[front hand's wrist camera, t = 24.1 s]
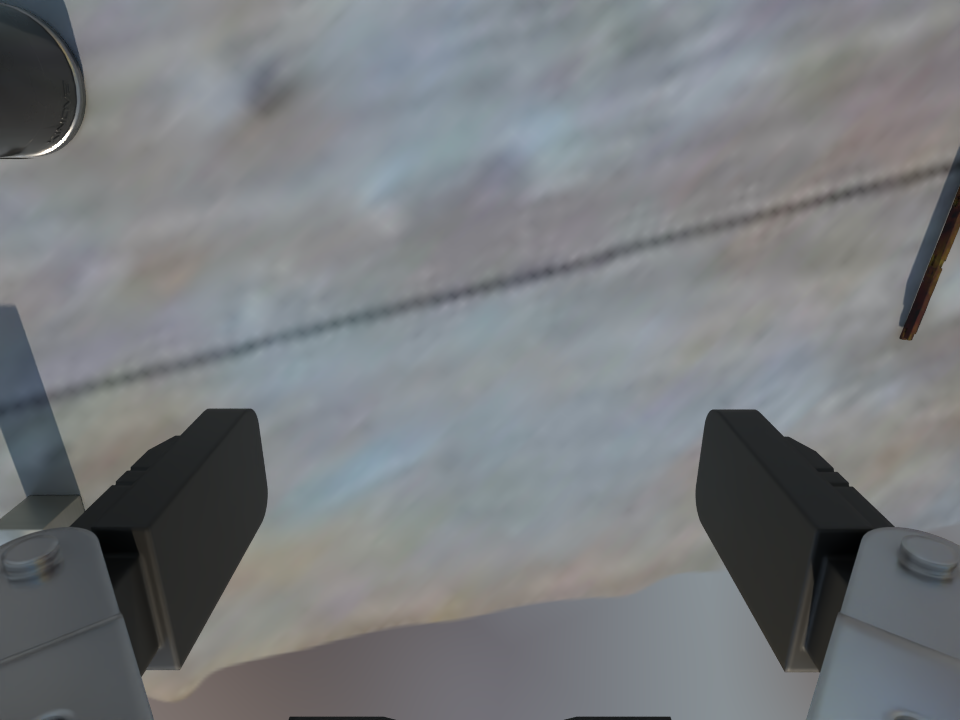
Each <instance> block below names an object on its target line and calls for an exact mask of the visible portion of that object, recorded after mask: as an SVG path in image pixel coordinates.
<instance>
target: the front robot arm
mask: <svg viewBox="0 0 960 720" xmlns="http://www.w3.org/2000/svg"><path fill="white" fill-rule="evenodd" d="M85 106H86V93H85V85H84V80H83V76H82V73H81V70H80V67H79V65H78V63H77V61H76V58H75V57H74V55H73V53H72V51H71V50H70V48H69V47H68V45H67V44H66V42H65V41H64V40H63V39H62V37H61V36H60V35H59V34H58V33H57V32H56V31H55V30H54V29H53V28H52V27H51V26H50V25H48V24H47V23H46V22H45V21H43V20H42V19H41V18H39V17H38V16H36V15H34V14H32V13H31V12H28V11H26V10H24V9H22V8H19V7H16V6H12V5H8V4H4V3H0V157H8V156H16V157H35V156H43V155H48V154H51V153H53V152H56V151H58V150H59V149H61V148H63V147H64V146H65V145H67V144H68V143H69V142H70V141H71V140H72V139H73V137H74V136H75V135H76V133H77V132H78V130H79V128H80V126H81V123H82V120H83V117H84V113H85ZM0 159H30V158H0ZM267 498H268V489H267V480H266V473H265V466H264V458H263V451H262V444H261V437H260V429H259V423H258V418H257V415H256V413H255V412H254V410H252V409H207V410H205V411H204V412H203V413H202V414H201V415H200V416H199V417H198V418H197V419H196V420H195V421H194V422H193V423H192V424H191V425H190V426H189V427H188V428H187V429H186V430H185V431H184V432H183V433H182V434H181V435H180V436H174V437H172V438H170V439H168V440H166V441H165V442H163V443H161V444H159V445H157V446H155V447H153V448H152V449H150V450H148V451H147V452H146V453H145V454H144V455H143V456H142V457H141V458H140V459H139V460H138V461H137V462H136V463H135V464H134V465H133V466H132V467H131V470H130V471H126V472H125V473H124V474H123V475H122V476H121V477H120V478H119V479H118V480H117V481H116V485H112V486H111V487H110V488H109V489H108V490H107V491H106V492H105V493H104V494H103V495H101V496H100V497H99V498H98V499H97V500H96V501H95V502H94V503H93V504H92V505H91V506H90V507H89V508H88V509H87V510H86V511H85V512H84V513H83V514H82V515H81V516H80V517H79V518H78V519H77V520H76V521H75V522H74V523H72V524H71V525H70V526H69V527H60V528H51V529H46V530H41V531H37V532H34V533H30V534H27V535H24V536H21V537H18V538H16V539H14V540H11V541H9V542H7V543H5V544H3V545H1V546H0V720H154V718H153V715H152V712H151V708H150V705H149V702H148V698H147V695H146V692H145V688H144V685H143V682H142V678H141V677H142V675H143V674H144V672H145V670H180V669H181V667H182V665H183V664H184V662H185V660H186V658H187V656H188V655H189V653H190V651H191V649H192V647H193V646H194V644H195V642H196V640H197V638H198V637H199V635H200V633H201V631H202V629H203V628H204V626H205V624H206V622H207V620H208V619H209V617H210V615H211V613H212V611H213V610H214V608H215V606H216V604H217V602H218V601H219V599H220V597H221V595H222V593H223V592H224V590H225V588H226V586H227V584H228V583H229V581H230V579H231V577H232V575H233V574H234V572H235V570H236V568H237V566H238V565H239V563H240V561H241V559H242V557H243V556H244V554H245V552H246V550H247V548H248V547H249V545H250V543H251V541H252V539H253V538H254V536H255V534H256V532H257V530H258V529H259V527H260V525H261V523H262V521H263V519H264V516H265V512H266V507H267ZM696 506H697V512H698V516H699V519H700V522H701V524H702V526H703V527H704V529H705V531H706V533H707V534H708V536H709V538H710V540H711V542H712V543H713V545H714V547H715V549H716V550H717V552H718V554H719V556H720V558H721V559H722V561H723V563H724V565H725V566H726V568H727V570H728V572H729V574H730V575H731V577H732V579H733V581H734V582H735V584H736V586H737V588H738V589H739V591H740V593H741V595H742V597H743V598H744V600H745V602H746V604H747V605H748V607H749V609H750V611H751V613H752V614H753V616H754V618H755V620H756V621H757V623H758V625H759V627H760V629H761V630H762V632H763V634H764V636H765V638H766V639H767V641H768V643H769V645H770V646H771V648H772V650H773V652H774V653H775V655H776V657H777V659H778V661H779V662H780V664H781V666H782V668H783V670H784V671H785V672H820V675H819V678H818V682H817V685H816V688H815V692H814V695H813V698H812V702H811V705H810V708H809V712H808V715H807V719H806V720H960V546H959V545H957V544H955V543H953V542H951V541H949V540H946V539H944V538H942V537H939V536H936V535H933V534H930V533H926V532H923V531H919V530H914V529H909V528H900V527H894V526H893V525H892V524H891V523H890V522H889V521H888V520H887V519H886V518H885V517H884V516H883V515H882V514H881V513H880V512H879V511H878V510H877V509H876V508H874V507H873V506H872V505H871V504H870V503H869V502H868V501H867V500H866V499H865V498H864V497H863V496H862V495H861V494H860V493H859V492H858V491H857V490H856V489H855V488H854V487H849V483H848V482H847V481H846V480H845V479H844V478H843V477H842V476H841V475H840V474H839V473H838V472H834V468H833V467H832V466H831V465H830V464H829V463H827V462H826V461H825V460H824V459H823V458H822V457H821V456H820V455H819V454H818V453H817V452H816V451H814V450H812V449H810V448H809V447H807V446H805V445H803V444H801V443H799V442H797V441H796V440H794V439H792V438H790V437H784V436H783V435H782V434H781V433H780V432H779V431H778V430H777V429H776V428H775V427H774V426H773V425H772V424H771V423H770V422H769V421H768V420H767V419H766V418H765V417H764V416H763V415H762V414H761V413H760V412H759V411H757V410H711V411H710V412H709V413H708V415H707V417H706V421H705V426H704V433H703V440H702V447H701V454H700V462H699V469H698V476H697V483H696ZM289 720H394V719H390V718H386V717H289ZM566 720H671V717H574V718H570V719H566Z"/></svg>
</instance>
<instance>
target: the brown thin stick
mask: <svg viewBox="0 0 960 720" xmlns="http://www.w3.org/2000/svg"><path fill="white" fill-rule="evenodd" d="M959 227H960V186H959V189H958V192H957V194H956V197H955V200H954V202H953V205H952V208H951V210H950V213H949V215H948V218H947V220H946V223H945V226H944V228H943V231H942V233H941V236H940V238H939V240H938V243H937V245H936V248H935V251H934V253H933V255H932V258H931V260H930V263H929V265H928V268H927V271H926V273H925V275H924V278H923V280H922V283H921V286H920V288H919V290H918V293H917V296H916V298H915V301H914V303H913V306H912V309H911V311H910V313H909V315H908V318H907V320H906V323H905V325H904V328H903V330H902V333H901V335H900V339H902V340H912V339H913V336H914V334H916V332H917V330H918V328H919V325H920V323H921V320H922V318H923V316H924V313H925V311H926V308H927V306H928V303H929V300H930V298H931V296H932V293H933V291H934V288H935V286H936V284H937V281H938V278H939V276H940V273H941V271H942V268H941V267H942V265H943V263H944V262H945V261H946V259H947V256H948V254H949V251H950V249H951V247H952V244H953V242H954V239H955V237H956V235H957V232H958V230H959Z"/></svg>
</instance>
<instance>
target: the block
mask: <svg viewBox="0 0 960 720" xmlns="http://www.w3.org/2000/svg"><path fill="white" fill-rule="evenodd" d="M83 513H84V508H83V504H82V500H81V497H80V496H28V497H27V498H26V499H25V500H23V501H22V502H21V503H20V504H18V505H17V506H16V507H15V508H13V509H12V510H11V511H10V512H8V513H7V514H6V515H5V516H3V517H2V518H1V519H0V546H1V545H3V544H5V543H7V542H9V541H11V540H14V539H16V538H18V537H21V536H24V535H27V534H30V533H34V532H37V531H41V530H46V529H51V528H60V527H69V526H70V525H71V524H72V523H74V522H75V521H76V520H77V519H78V518H79V517H80V516H81V515H82V514H83Z"/></svg>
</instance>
